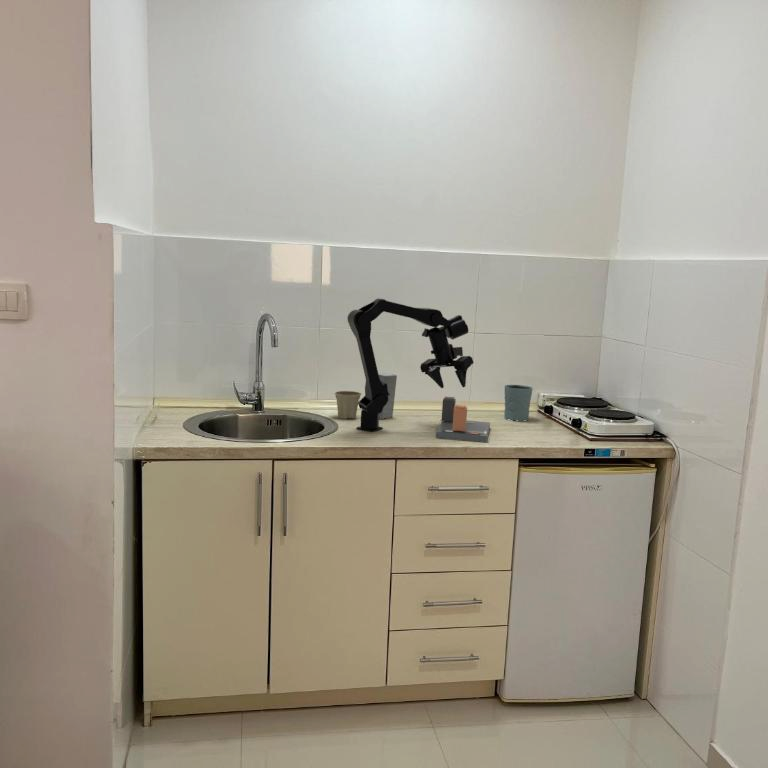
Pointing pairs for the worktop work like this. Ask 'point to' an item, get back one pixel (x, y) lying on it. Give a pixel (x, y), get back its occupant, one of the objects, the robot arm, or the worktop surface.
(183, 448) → the worktop surface
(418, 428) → the worktop surface
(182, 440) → the worktop surface
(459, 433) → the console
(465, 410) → the switch knob
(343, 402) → the flower pot
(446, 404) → the switch knob
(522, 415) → the blue-grey tapered cup
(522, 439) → the worktop surface
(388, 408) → the grey vase
